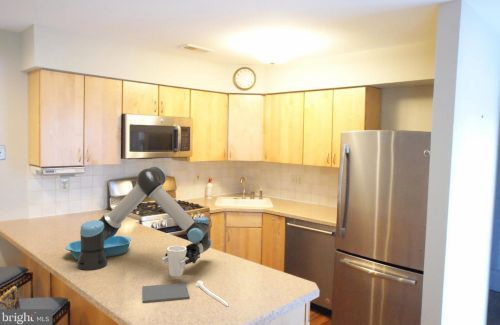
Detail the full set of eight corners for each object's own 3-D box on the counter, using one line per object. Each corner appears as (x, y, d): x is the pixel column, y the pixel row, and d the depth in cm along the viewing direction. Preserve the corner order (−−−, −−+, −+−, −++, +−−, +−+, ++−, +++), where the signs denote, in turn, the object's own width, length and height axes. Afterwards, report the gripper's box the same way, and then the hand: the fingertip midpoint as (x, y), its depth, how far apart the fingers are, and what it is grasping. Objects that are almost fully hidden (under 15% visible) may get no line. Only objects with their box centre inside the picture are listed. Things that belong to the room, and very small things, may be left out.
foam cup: (167, 278, 185) (167, 251, 184) (165, 271, 194) (166, 246, 193) (186, 277, 187) (187, 250, 186) (184, 270, 196) (185, 245, 195)
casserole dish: (70, 265, 209) (70, 252, 209) (62, 254, 227) (62, 242, 227) (136, 254, 231) (136, 242, 230) (124, 244, 249) (124, 233, 248)
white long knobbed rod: (234, 305, 166) (234, 299, 166) (226, 308, 164) (226, 301, 163) (201, 284, 188) (201, 278, 188) (194, 286, 186) (194, 280, 185)
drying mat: (142, 303, 165) (142, 300, 165) (142, 288, 181) (142, 286, 181) (189, 298, 171) (189, 296, 171) (185, 284, 186) (185, 282, 186)
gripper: (212, 259, 204) (192, 274, 183) (175, 254, 211) (152, 267, 190) (212, 246, 203) (192, 258, 182) (175, 240, 210) (152, 252, 189)
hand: (171, 263), depth 186 cm, fingers closed on foam cup, 9 cm apart
